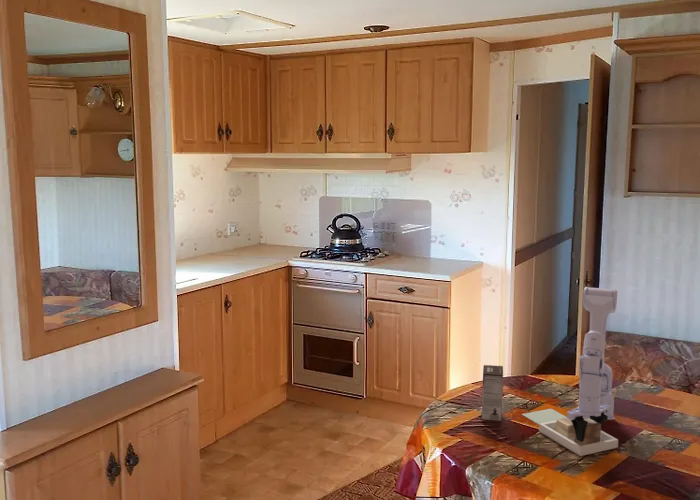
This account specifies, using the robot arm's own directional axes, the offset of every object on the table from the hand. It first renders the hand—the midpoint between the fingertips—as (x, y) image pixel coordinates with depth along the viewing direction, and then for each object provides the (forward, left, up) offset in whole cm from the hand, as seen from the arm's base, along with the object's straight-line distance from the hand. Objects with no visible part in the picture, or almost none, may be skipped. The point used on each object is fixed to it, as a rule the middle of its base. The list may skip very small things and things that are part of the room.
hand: (587, 438), depth 194 cm
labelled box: (0, 0, -2) cm, 2 cm away
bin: (0, -4, -2) cm, 5 cm away
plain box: (0, -8, -2) cm, 8 cm away
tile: (-2, -20, -2) cm, 20 cm away
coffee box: (+13, -30, -3) cm, 32 cm away
